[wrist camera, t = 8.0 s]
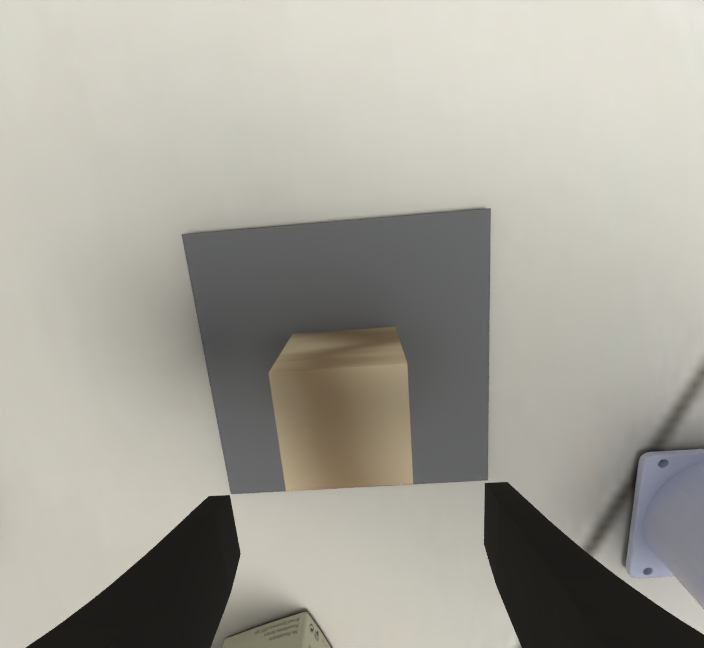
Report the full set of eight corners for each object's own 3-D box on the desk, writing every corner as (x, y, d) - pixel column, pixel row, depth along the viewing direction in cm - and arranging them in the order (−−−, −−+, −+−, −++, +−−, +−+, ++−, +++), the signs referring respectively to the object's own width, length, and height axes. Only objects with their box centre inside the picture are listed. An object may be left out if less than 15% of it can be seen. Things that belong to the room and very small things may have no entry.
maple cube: (395, 326, 18) (407, 363, 14) (400, 419, 20) (413, 484, 15) (292, 334, 19) (268, 372, 14) (304, 425, 20) (286, 490, 15)
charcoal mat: (486, 209, 17) (490, 208, 17) (484, 474, 21) (487, 480, 20) (186, 234, 18) (181, 234, 17) (233, 487, 22) (230, 494, 21)
